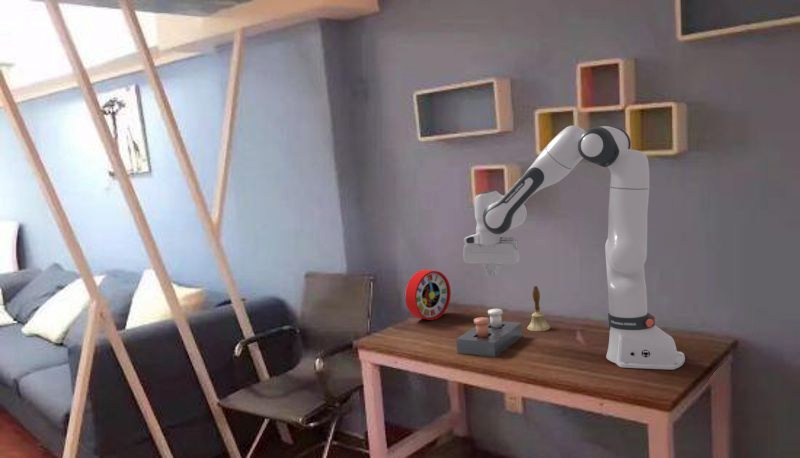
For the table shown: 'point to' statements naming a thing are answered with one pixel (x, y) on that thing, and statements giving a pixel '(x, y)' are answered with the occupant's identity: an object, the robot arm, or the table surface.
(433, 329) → the table surface
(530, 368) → the table surface
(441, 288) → the toy clock
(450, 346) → the table surface
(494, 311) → the white plunger
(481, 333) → the peach mushroom-shaped knob
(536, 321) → the hand bell
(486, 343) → the button console
